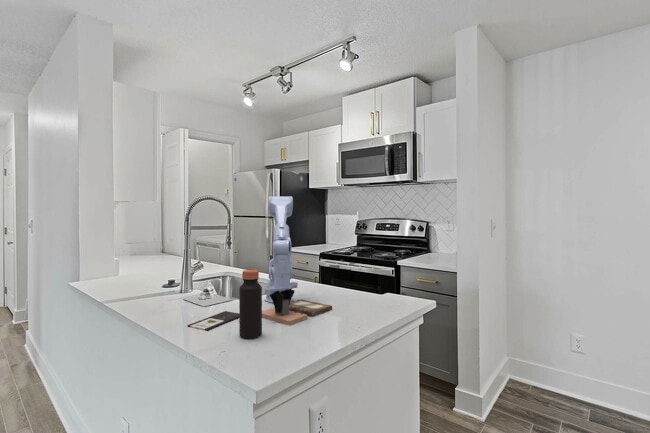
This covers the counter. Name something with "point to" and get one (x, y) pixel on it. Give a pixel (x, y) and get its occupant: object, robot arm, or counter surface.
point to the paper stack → (205, 302)
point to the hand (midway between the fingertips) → (281, 311)
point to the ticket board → (309, 307)
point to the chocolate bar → (214, 321)
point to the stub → (284, 314)
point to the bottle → (250, 305)
